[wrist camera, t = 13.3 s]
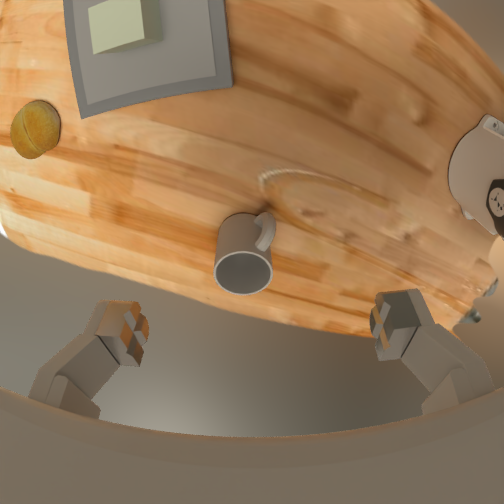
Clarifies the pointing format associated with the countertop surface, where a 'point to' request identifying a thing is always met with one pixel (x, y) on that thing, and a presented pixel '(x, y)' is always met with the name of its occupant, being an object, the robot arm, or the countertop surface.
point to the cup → (245, 253)
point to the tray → (151, 57)
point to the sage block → (124, 25)
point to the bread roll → (35, 129)
